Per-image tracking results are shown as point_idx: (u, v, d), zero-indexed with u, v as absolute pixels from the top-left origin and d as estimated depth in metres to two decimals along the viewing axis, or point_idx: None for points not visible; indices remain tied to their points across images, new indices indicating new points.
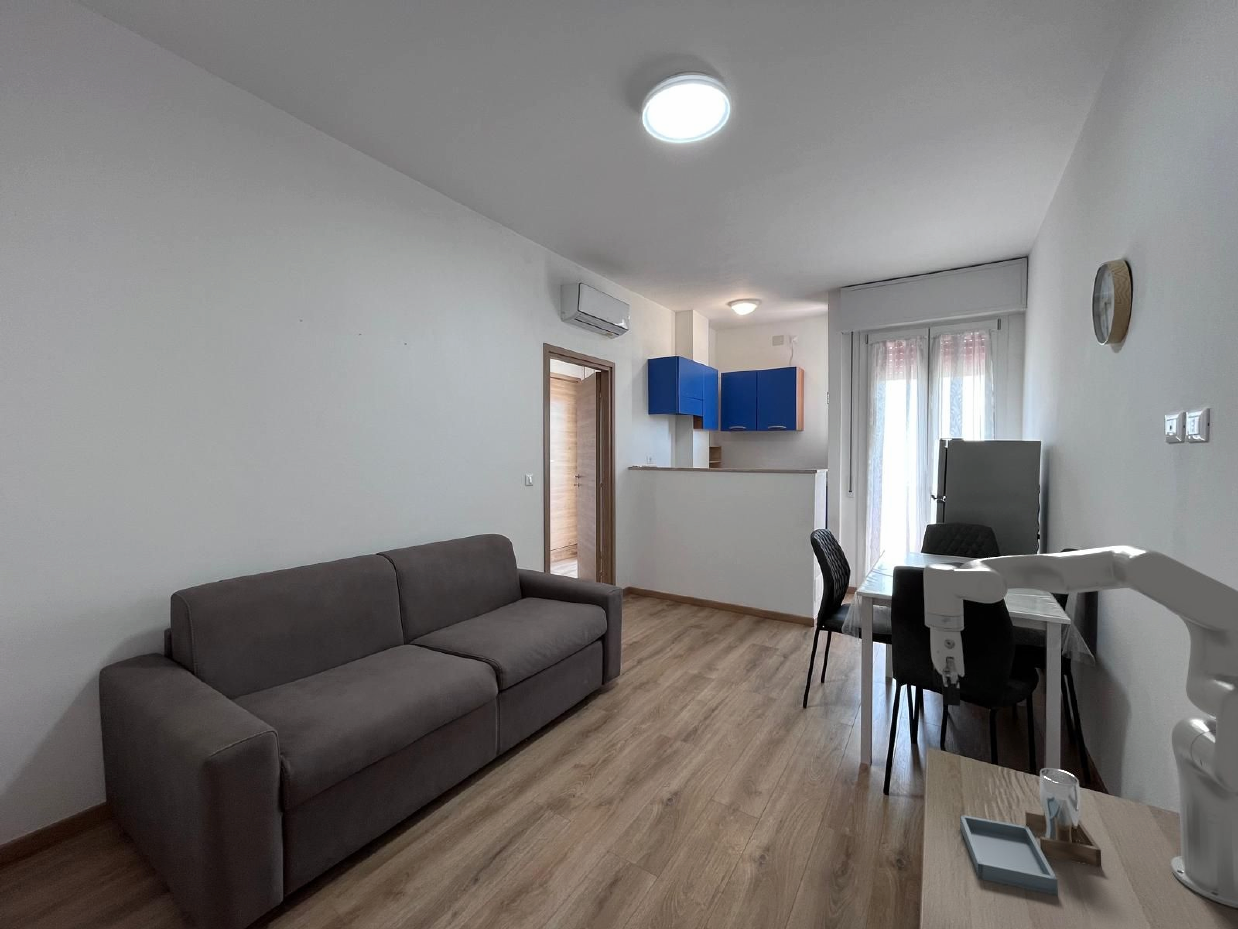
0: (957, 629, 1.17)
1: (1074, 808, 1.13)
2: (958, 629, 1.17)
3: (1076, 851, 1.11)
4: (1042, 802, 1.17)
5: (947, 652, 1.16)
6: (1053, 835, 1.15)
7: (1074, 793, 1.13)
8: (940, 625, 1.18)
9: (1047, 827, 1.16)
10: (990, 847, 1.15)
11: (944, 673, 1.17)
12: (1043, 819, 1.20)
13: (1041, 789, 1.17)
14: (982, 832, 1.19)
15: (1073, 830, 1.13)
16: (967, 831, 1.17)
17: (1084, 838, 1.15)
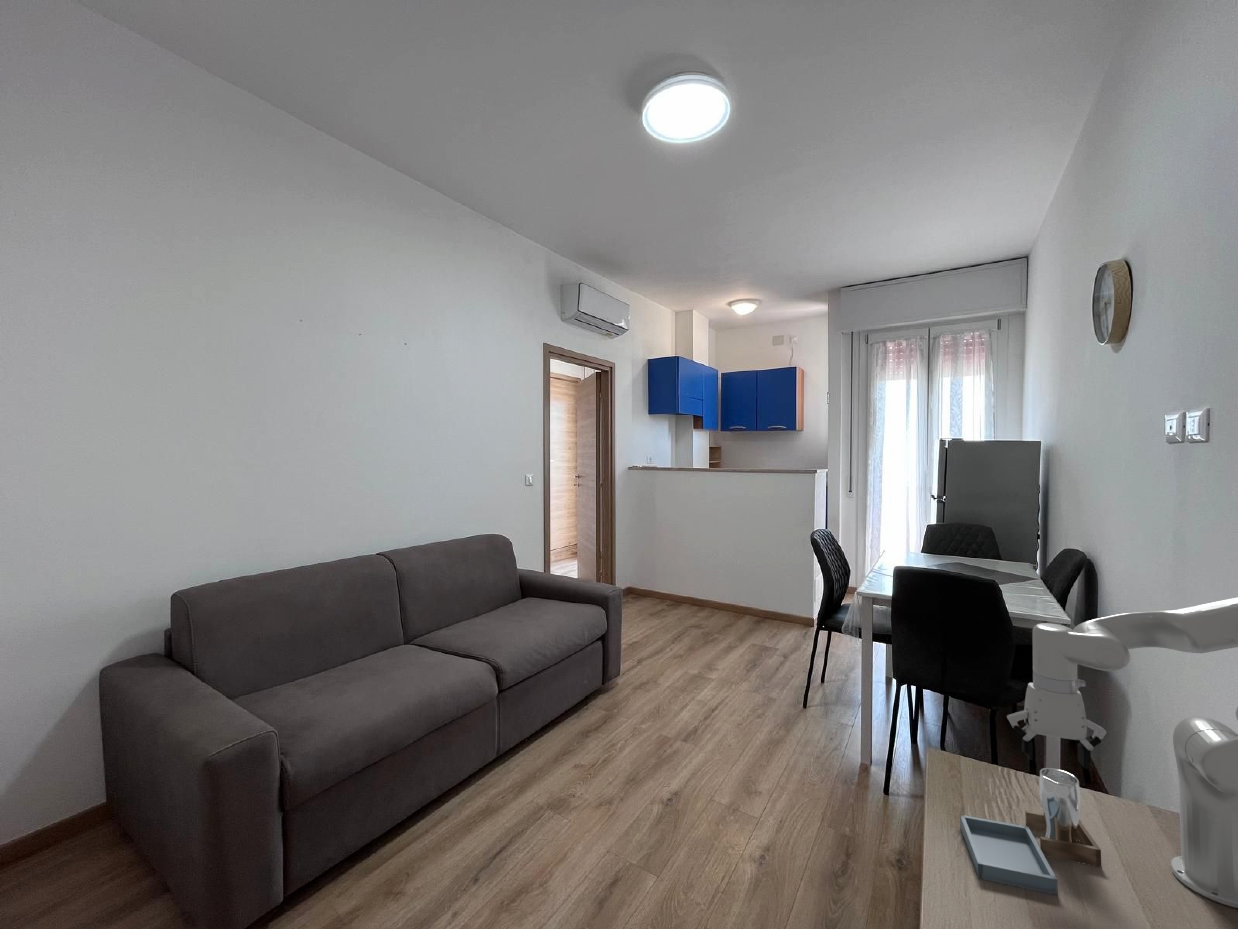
0: None
1: (1074, 808, 1.13)
2: None
3: (1076, 851, 1.11)
4: (1042, 802, 1.17)
5: None
6: (1053, 835, 1.15)
7: (1074, 793, 1.13)
8: (1077, 689, 1.14)
9: (1047, 827, 1.16)
10: (990, 847, 1.15)
11: None
12: (1043, 819, 1.20)
13: (1041, 789, 1.17)
14: (982, 832, 1.19)
15: (1073, 830, 1.13)
16: (967, 831, 1.17)
17: (1084, 838, 1.15)
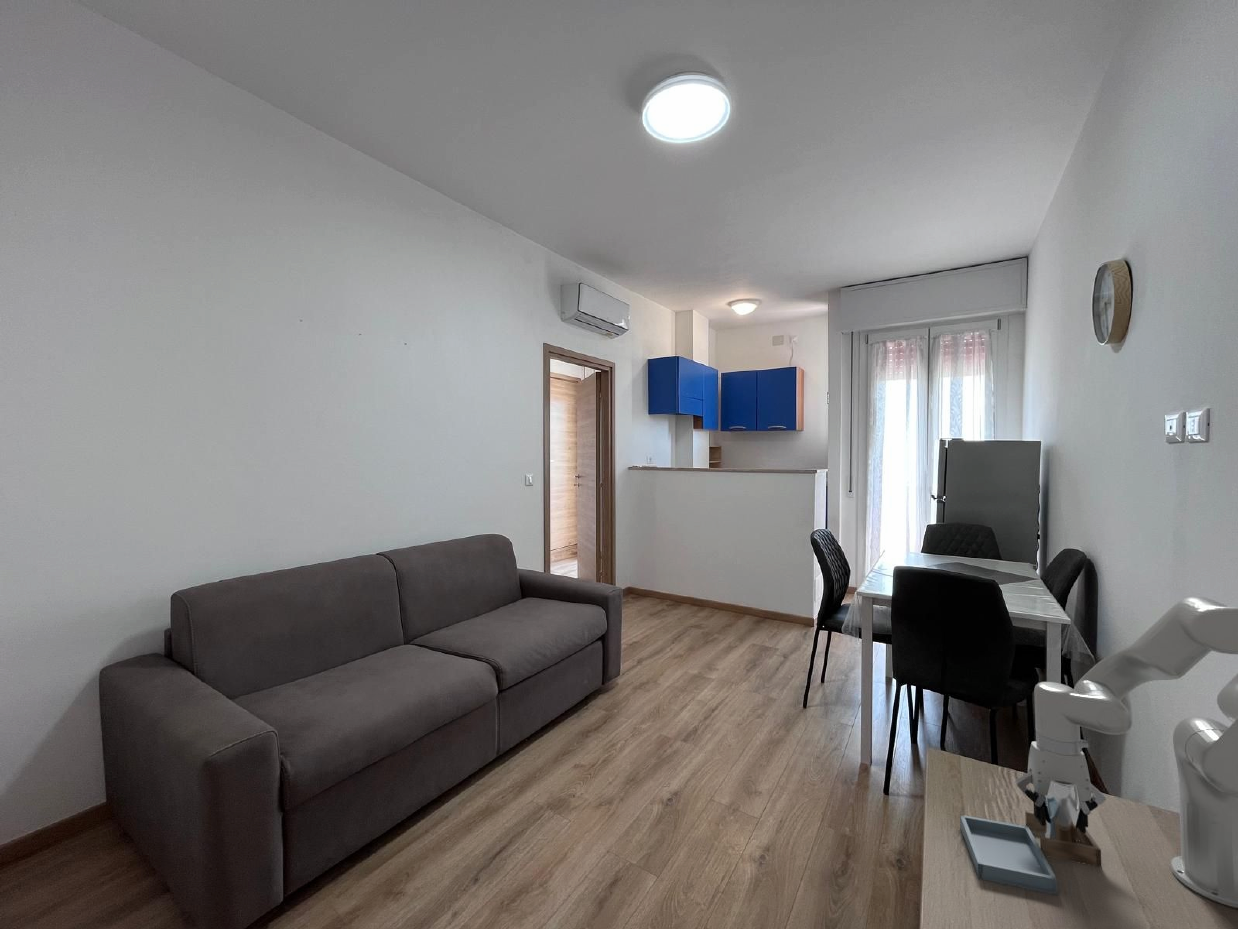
0: None
1: (1074, 808, 1.13)
2: None
3: (1076, 851, 1.11)
4: None
5: None
6: (1053, 835, 1.15)
7: (1074, 793, 1.13)
8: (1080, 750, 1.13)
9: (1047, 827, 1.16)
10: (990, 847, 1.15)
11: None
12: None
13: None
14: (982, 832, 1.19)
15: (1073, 830, 1.13)
16: (967, 831, 1.17)
17: (1084, 838, 1.15)
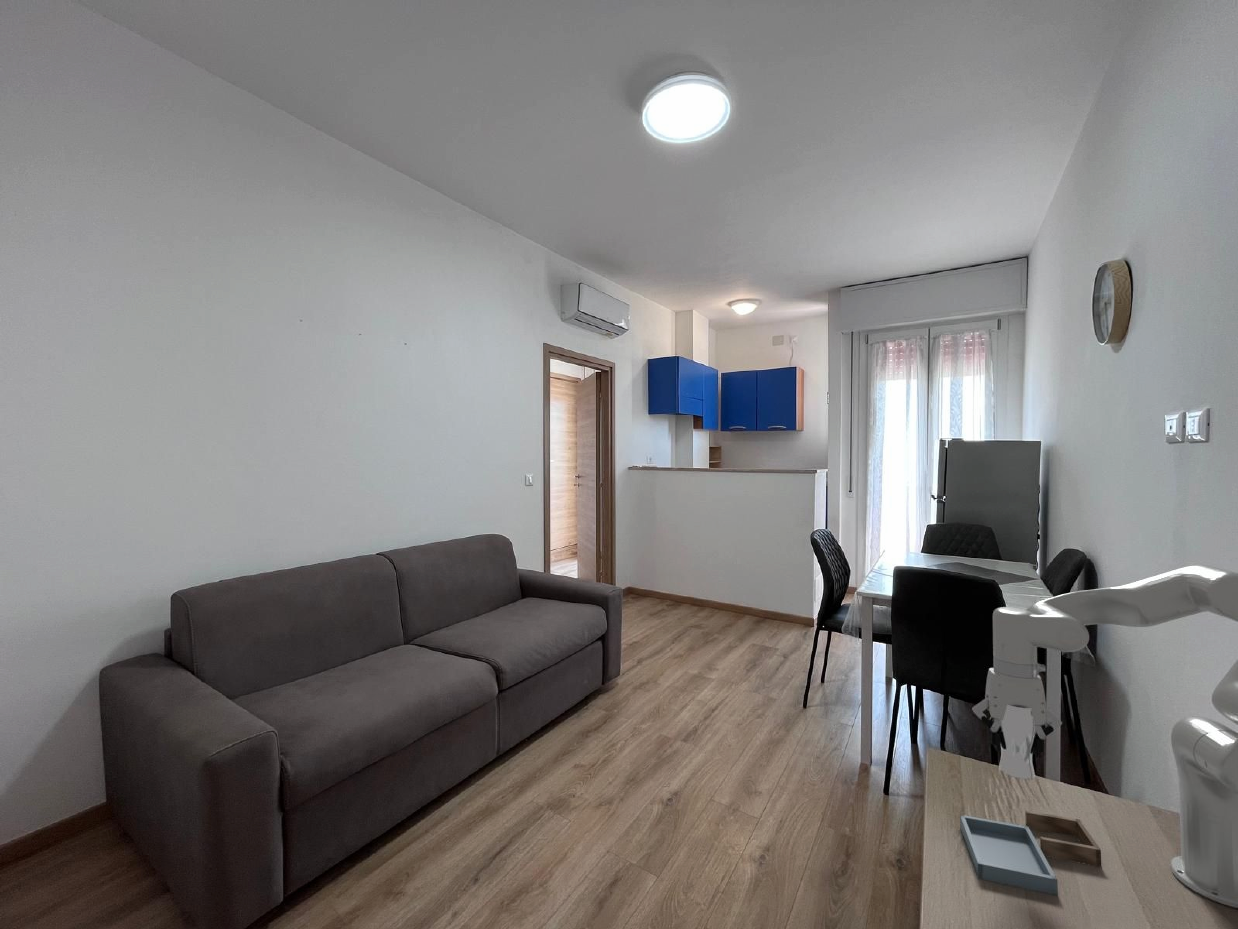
0: None
1: (1029, 731, 1.10)
2: None
3: (1076, 851, 1.11)
4: None
5: None
6: (1008, 760, 1.13)
7: (1029, 716, 1.11)
8: (1037, 673, 1.11)
9: (1002, 753, 1.14)
10: (990, 847, 1.15)
11: None
12: (1043, 819, 1.20)
13: None
14: (982, 832, 1.19)
15: (1028, 754, 1.11)
16: (967, 831, 1.17)
17: (1084, 838, 1.15)
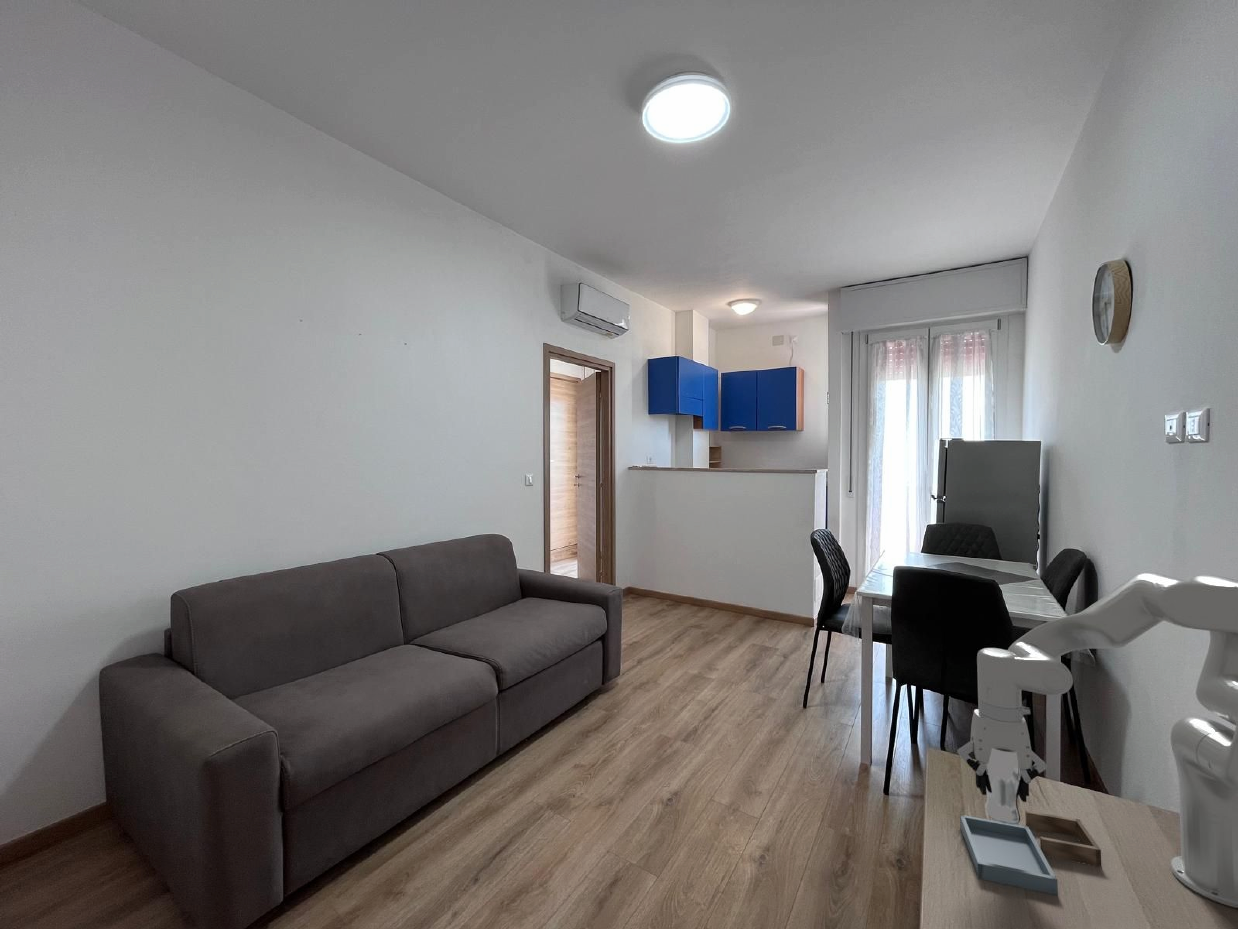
0: None
1: (1014, 776, 1.09)
2: None
3: (1076, 851, 1.11)
4: None
5: None
6: (993, 804, 1.12)
7: (1014, 760, 1.09)
8: (1022, 716, 1.10)
9: (988, 796, 1.13)
10: (990, 847, 1.15)
11: None
12: (1043, 819, 1.20)
13: None
14: (982, 832, 1.19)
15: (1013, 799, 1.10)
16: (967, 831, 1.17)
17: (1084, 838, 1.15)
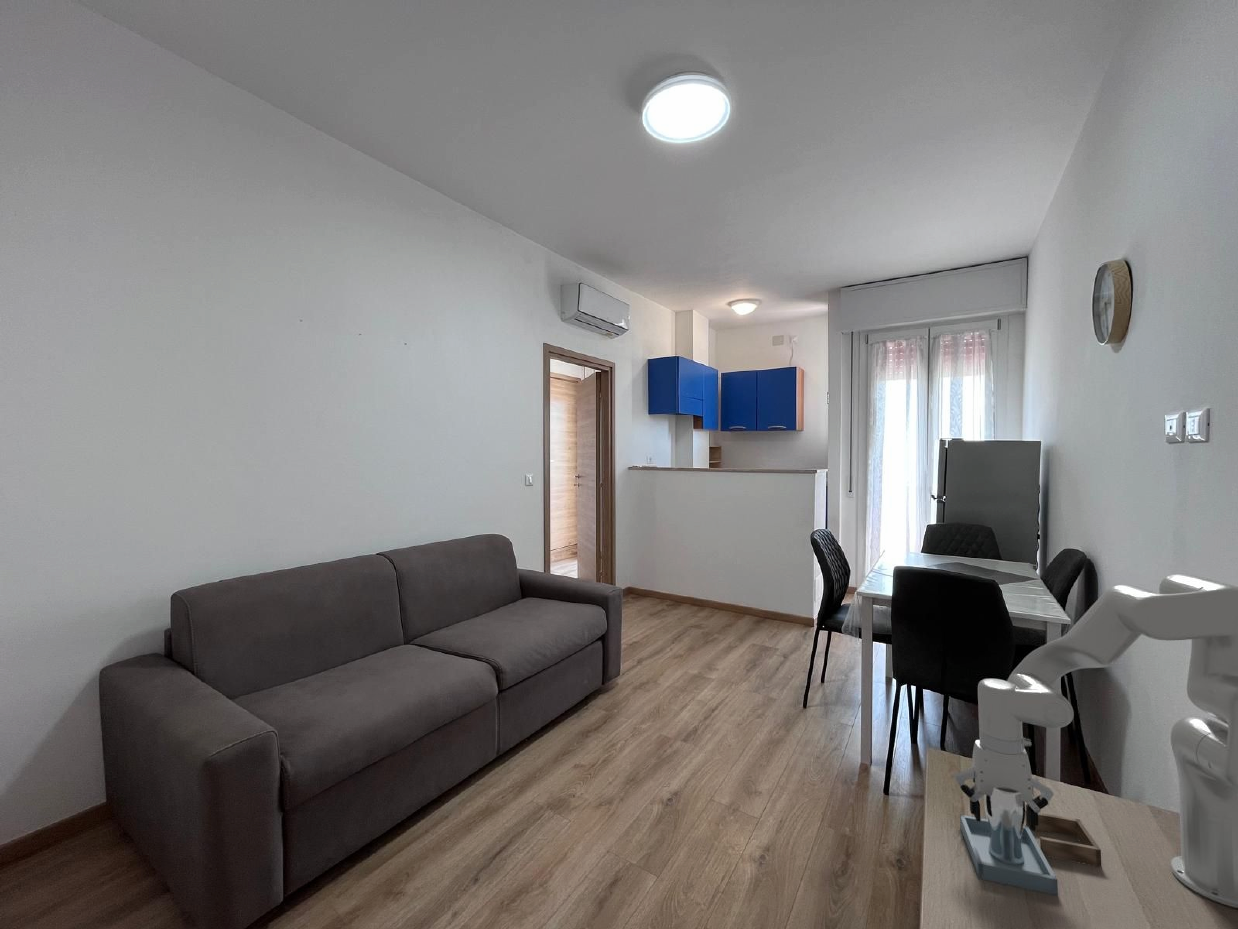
0: None
1: (1018, 817, 1.09)
2: None
3: (1076, 851, 1.11)
4: (987, 810, 1.13)
5: None
6: (997, 844, 1.12)
7: (1018, 801, 1.09)
8: (1023, 748, 1.10)
9: (991, 836, 1.13)
10: None
11: None
12: (1043, 819, 1.20)
13: (986, 797, 1.13)
14: (982, 832, 1.19)
15: (1017, 839, 1.10)
16: (967, 831, 1.17)
17: (1084, 838, 1.15)
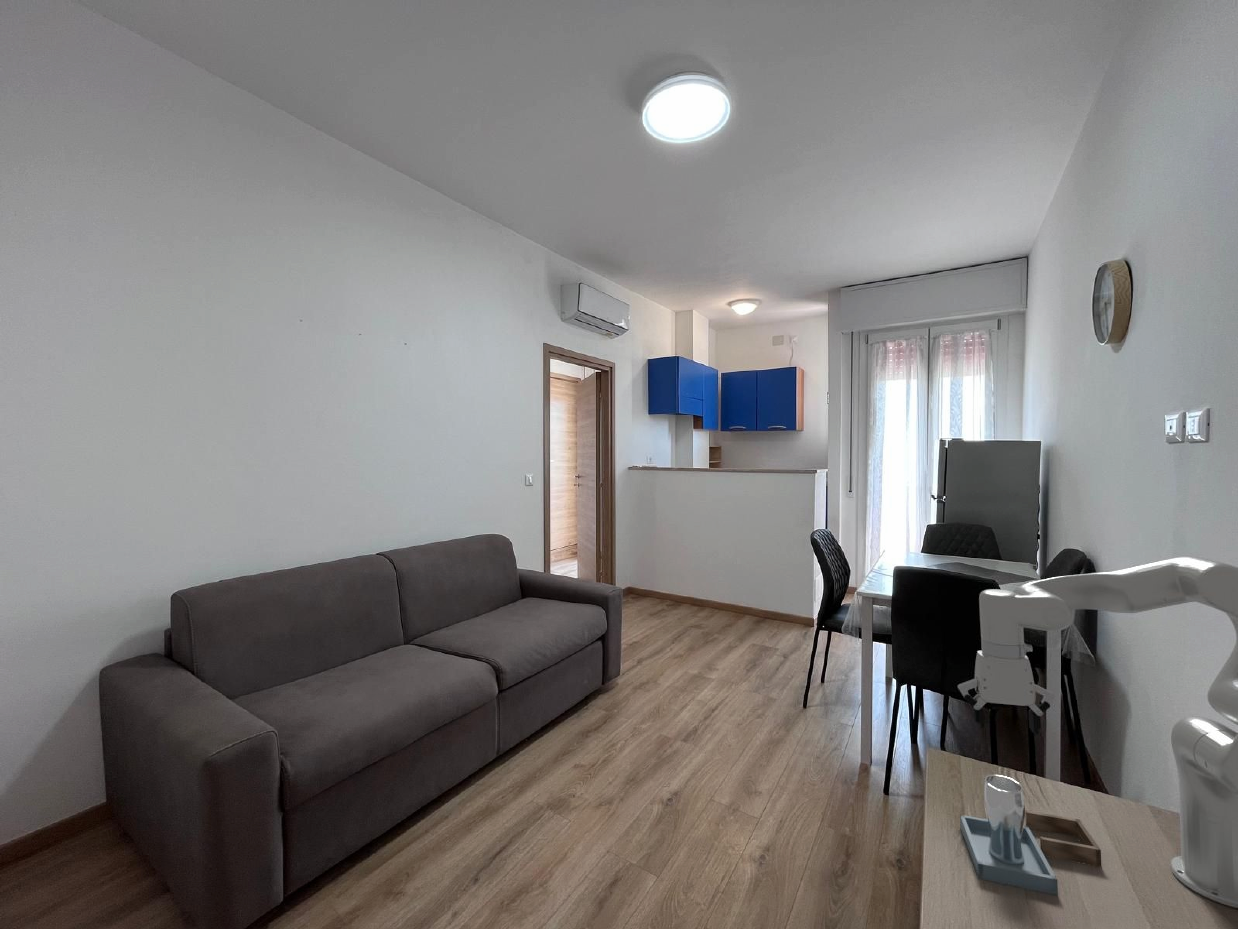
0: None
1: (1017, 816, 1.09)
2: None
3: (1076, 851, 1.11)
4: (986, 810, 1.13)
5: None
6: (997, 844, 1.12)
7: (1017, 801, 1.09)
8: (1024, 653, 1.12)
9: (991, 836, 1.13)
10: None
11: None
12: (1043, 819, 1.20)
13: (985, 797, 1.13)
14: (982, 832, 1.19)
15: (1017, 839, 1.10)
16: (967, 831, 1.17)
17: (1084, 838, 1.15)
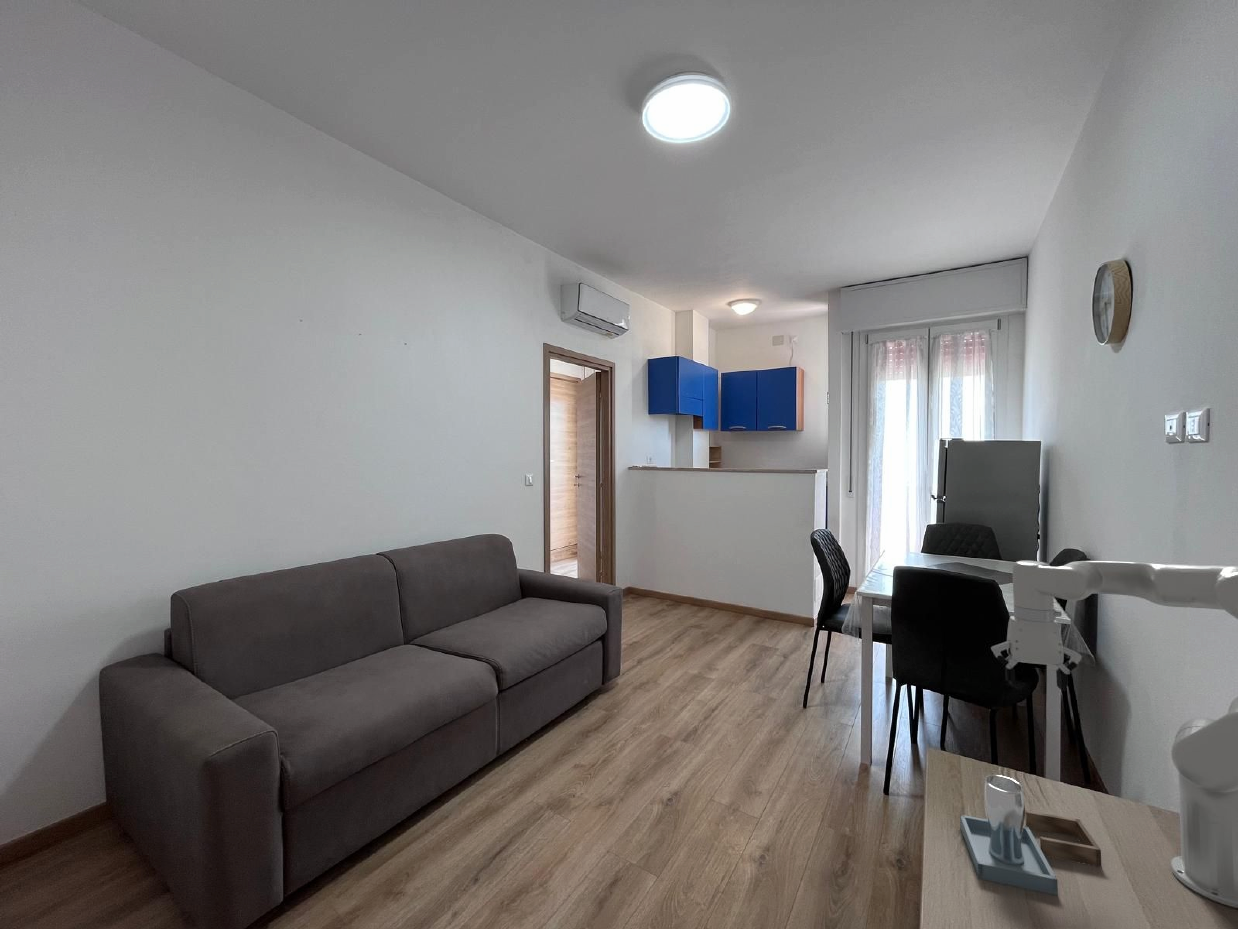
0: None
1: (1017, 816, 1.09)
2: None
3: (1076, 851, 1.11)
4: (986, 810, 1.13)
5: None
6: (997, 844, 1.12)
7: (1017, 801, 1.09)
8: (1054, 618, 1.24)
9: (991, 836, 1.13)
10: None
11: None
12: (1043, 819, 1.20)
13: (985, 797, 1.13)
14: (982, 832, 1.19)
15: (1017, 839, 1.10)
16: (967, 831, 1.17)
17: (1084, 838, 1.15)
